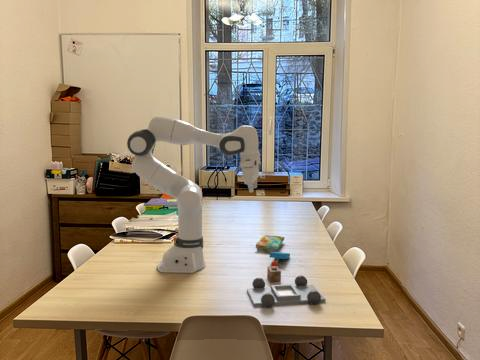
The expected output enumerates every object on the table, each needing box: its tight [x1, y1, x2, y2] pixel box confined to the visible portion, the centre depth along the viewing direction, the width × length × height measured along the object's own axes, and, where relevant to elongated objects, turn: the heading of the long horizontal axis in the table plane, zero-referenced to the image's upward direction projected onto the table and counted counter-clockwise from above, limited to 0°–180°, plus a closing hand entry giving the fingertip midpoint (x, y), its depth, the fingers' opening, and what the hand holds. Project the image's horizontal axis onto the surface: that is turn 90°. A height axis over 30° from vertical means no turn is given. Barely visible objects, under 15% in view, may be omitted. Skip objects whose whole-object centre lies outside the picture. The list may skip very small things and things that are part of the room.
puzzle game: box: [255, 234, 285, 253], centre depth 232 cm, size 12×5×20 cm
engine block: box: [266, 265, 282, 284], centre depth 184 cm, size 4×6×6 cm
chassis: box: [246, 275, 326, 308], centre depth 167 cm, size 28×17×5 cm, turn 100°
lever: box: [269, 251, 291, 267], centre depth 207 cm, size 7×7×18 cm
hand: (253, 190), depth 196 cm, fingers open, 8 cm apart
